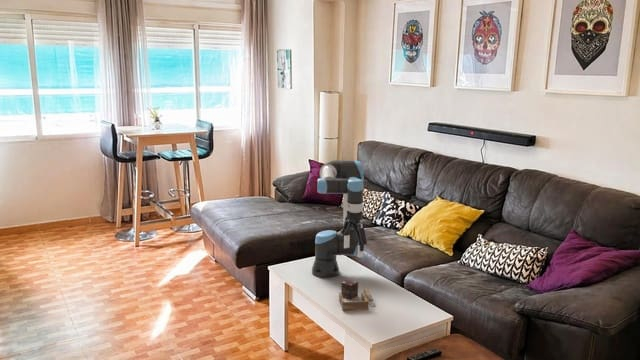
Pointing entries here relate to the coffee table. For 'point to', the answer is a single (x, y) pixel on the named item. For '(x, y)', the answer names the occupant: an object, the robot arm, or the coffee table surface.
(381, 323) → the coffee table surface
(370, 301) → the scraper
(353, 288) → the box
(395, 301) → the coffee table surface
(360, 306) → the box
